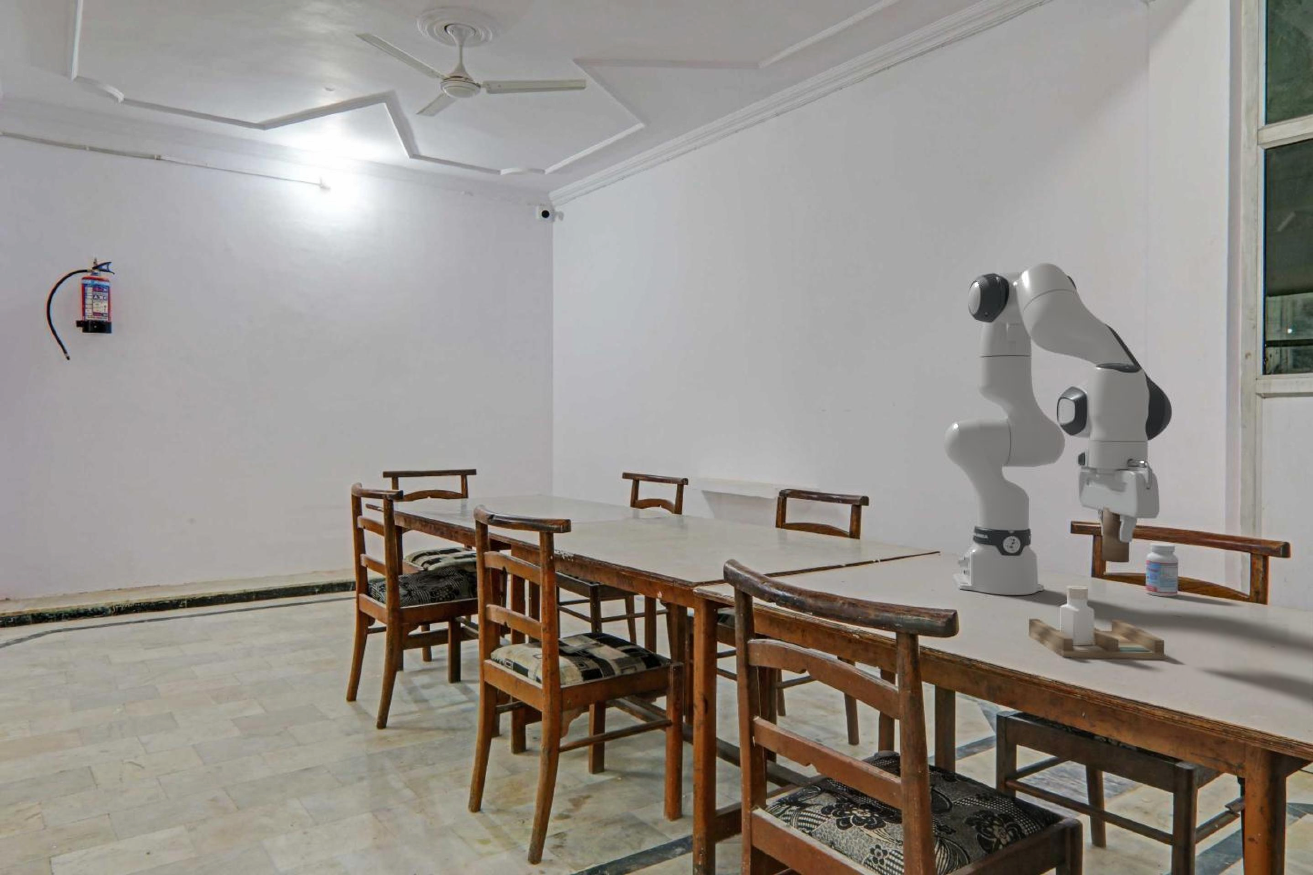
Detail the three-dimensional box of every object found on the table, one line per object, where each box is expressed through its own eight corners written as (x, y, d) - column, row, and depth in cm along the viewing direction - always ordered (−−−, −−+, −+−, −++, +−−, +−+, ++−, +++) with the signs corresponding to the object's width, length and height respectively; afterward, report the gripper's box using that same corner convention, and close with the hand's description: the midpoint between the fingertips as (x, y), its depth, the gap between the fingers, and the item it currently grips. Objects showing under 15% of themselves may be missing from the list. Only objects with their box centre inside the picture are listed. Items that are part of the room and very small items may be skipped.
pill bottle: (1140, 591, 190) (1141, 541, 190) (1169, 592, 189) (1170, 542, 189) (1152, 596, 184) (1153, 545, 184) (1182, 597, 183) (1183, 546, 183)
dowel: (1121, 558, 145) (1122, 506, 144) (1133, 562, 141) (1134, 509, 140) (1097, 558, 145) (1098, 506, 145) (1109, 562, 141) (1110, 508, 141)
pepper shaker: (1057, 640, 143) (1058, 585, 143) (1077, 639, 144) (1078, 584, 144) (1075, 647, 139) (1076, 590, 139) (1095, 645, 140) (1096, 588, 140)
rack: (1028, 635, 151) (1029, 618, 151) (1119, 636, 150) (1120, 619, 150) (1063, 657, 137) (1063, 638, 137) (1163, 658, 136) (1164, 640, 136)
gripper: (1171, 461, 132) (1170, 548, 132) (1107, 455, 152) (1106, 531, 153) (1130, 461, 132) (1129, 548, 132) (1071, 455, 153) (1070, 531, 153)
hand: (1116, 539), depth 143 cm, fingers closed on dowel, 4 cm apart
